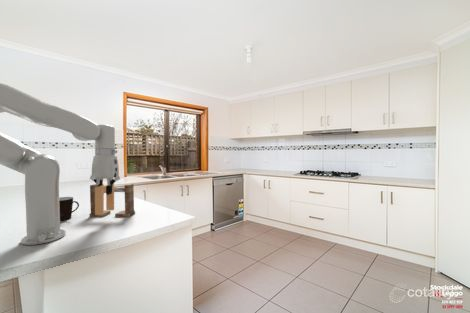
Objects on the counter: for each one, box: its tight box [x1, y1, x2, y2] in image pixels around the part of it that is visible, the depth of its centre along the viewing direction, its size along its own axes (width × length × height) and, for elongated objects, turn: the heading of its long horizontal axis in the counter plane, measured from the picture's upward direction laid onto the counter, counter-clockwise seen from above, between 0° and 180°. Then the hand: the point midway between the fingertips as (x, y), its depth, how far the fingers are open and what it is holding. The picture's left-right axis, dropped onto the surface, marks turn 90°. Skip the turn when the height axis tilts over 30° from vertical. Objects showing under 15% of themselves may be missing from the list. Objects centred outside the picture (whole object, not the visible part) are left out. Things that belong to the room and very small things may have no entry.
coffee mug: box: [59, 196, 80, 222], centre depth 105 cm, size 12×9×10 cm
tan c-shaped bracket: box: [95, 183, 115, 215], centre depth 98 cm, size 3×9×12 cm, turn 178°
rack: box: [88, 183, 136, 218], centre depth 112 cm, size 20×6×16 cm, turn 88°
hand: (105, 193), depth 98 cm, fingers closed on tan c-shaped bracket, 3 cm apart
